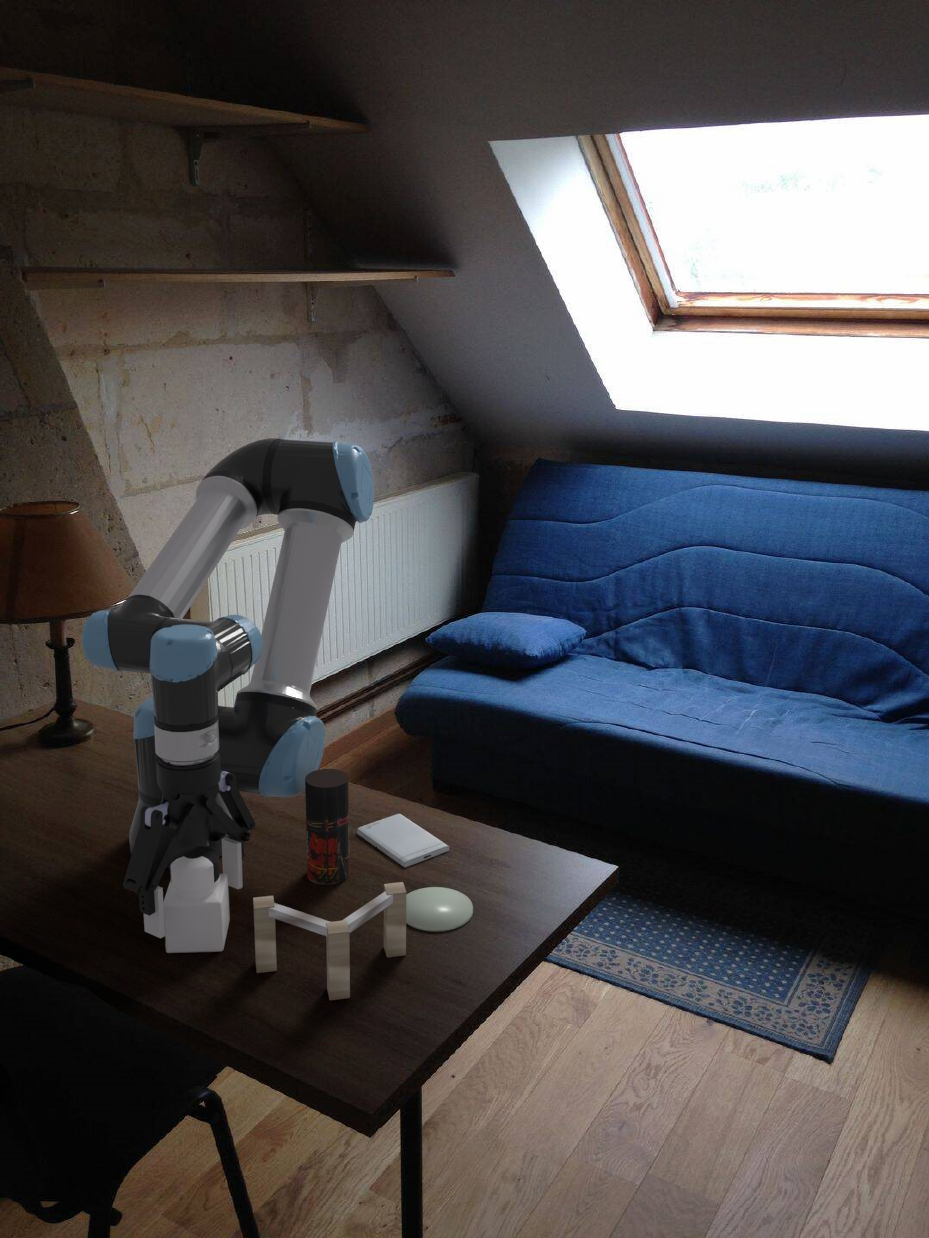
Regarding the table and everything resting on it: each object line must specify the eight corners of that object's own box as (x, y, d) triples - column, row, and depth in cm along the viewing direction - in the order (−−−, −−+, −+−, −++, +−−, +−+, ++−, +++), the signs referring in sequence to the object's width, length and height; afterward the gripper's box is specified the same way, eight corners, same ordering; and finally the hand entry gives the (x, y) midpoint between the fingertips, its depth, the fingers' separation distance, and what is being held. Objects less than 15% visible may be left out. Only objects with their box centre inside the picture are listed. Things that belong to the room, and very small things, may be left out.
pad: (392, 894, 151) (392, 891, 151) (463, 886, 153) (463, 883, 153) (405, 935, 142) (406, 932, 141) (480, 926, 144) (481, 923, 144)
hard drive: (356, 827, 167) (404, 860, 158) (400, 812, 172) (449, 844, 162) (356, 837, 167) (404, 871, 158) (400, 821, 172) (449, 854, 163)
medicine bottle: (174, 921, 143) (169, 839, 140) (230, 920, 144) (226, 838, 140) (165, 954, 137) (159, 868, 133) (223, 952, 137) (219, 867, 134)
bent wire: (255, 961, 136) (253, 897, 133) (402, 944, 140) (402, 881, 137) (260, 1009, 127) (257, 941, 124) (416, 989, 131) (417, 923, 128)
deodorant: (300, 870, 156) (297, 774, 152) (337, 859, 159) (336, 765, 155) (318, 889, 152) (317, 791, 147) (356, 877, 155) (356, 781, 150)
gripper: (130, 798, 120) (141, 966, 127) (280, 727, 141) (283, 875, 147) (83, 782, 124) (96, 945, 130) (236, 715, 145) (241, 859, 151)
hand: (195, 908), depth 139 cm, fingers open, 13 cm apart
